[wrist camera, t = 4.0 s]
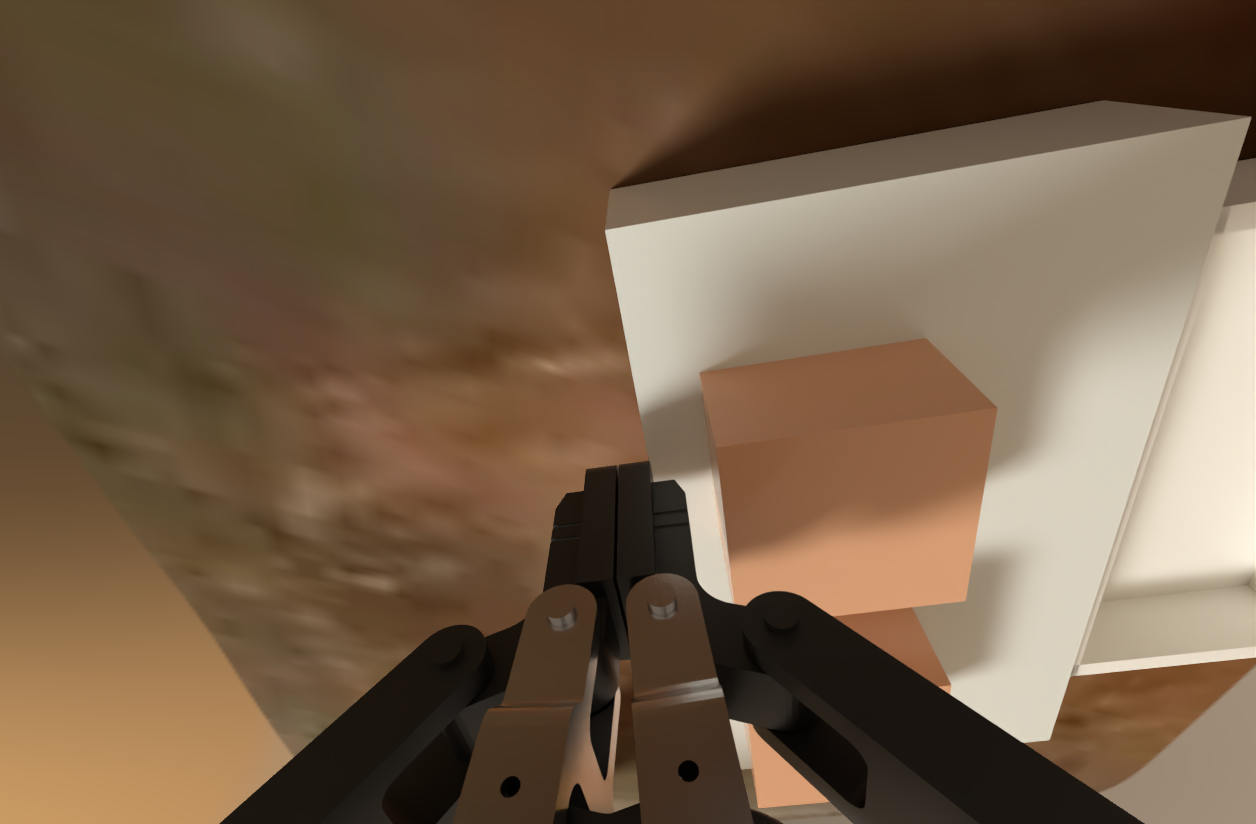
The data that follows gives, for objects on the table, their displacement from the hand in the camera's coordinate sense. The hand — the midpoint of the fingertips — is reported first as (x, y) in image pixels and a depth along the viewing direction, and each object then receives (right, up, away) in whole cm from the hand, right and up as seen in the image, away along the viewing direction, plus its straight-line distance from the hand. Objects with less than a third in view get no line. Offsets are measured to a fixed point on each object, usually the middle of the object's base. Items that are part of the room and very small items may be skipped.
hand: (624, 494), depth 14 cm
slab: (+7, 0, +6) cm, 9 cm away
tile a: (+5, +1, 0) cm, 5 cm away
